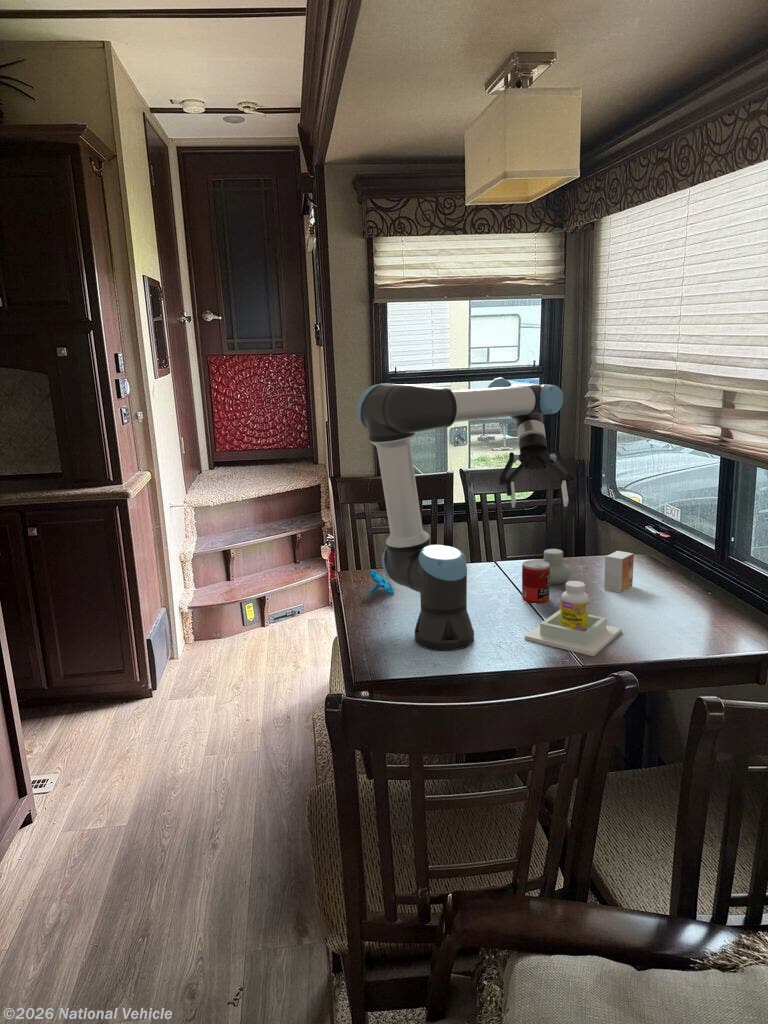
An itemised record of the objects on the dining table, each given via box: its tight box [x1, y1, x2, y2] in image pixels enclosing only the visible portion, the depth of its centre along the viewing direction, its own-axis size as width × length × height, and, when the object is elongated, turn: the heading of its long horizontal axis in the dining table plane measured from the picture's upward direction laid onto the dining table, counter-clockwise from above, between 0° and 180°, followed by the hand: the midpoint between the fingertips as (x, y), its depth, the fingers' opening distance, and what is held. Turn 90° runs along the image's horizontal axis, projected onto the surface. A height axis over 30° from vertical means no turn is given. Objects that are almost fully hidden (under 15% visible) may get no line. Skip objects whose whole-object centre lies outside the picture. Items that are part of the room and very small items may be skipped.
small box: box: [603, 550, 635, 593], centre depth 208 cm, size 8×6×10 cm
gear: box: [369, 569, 395, 596], centre depth 212 cm, size 11×6×10 cm
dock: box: [524, 608, 622, 657], centre depth 174 cm, size 18×18×4 cm
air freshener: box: [543, 548, 572, 585], centre depth 216 cm, size 11×8×10 cm
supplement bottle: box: [560, 580, 590, 631], centre depth 173 cm, size 7×7×13 cm
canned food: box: [521, 559, 551, 605], centre depth 200 cm, size 8×8×11 cm
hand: (540, 504), depth 180 cm, fingers open, 13 cm apart
